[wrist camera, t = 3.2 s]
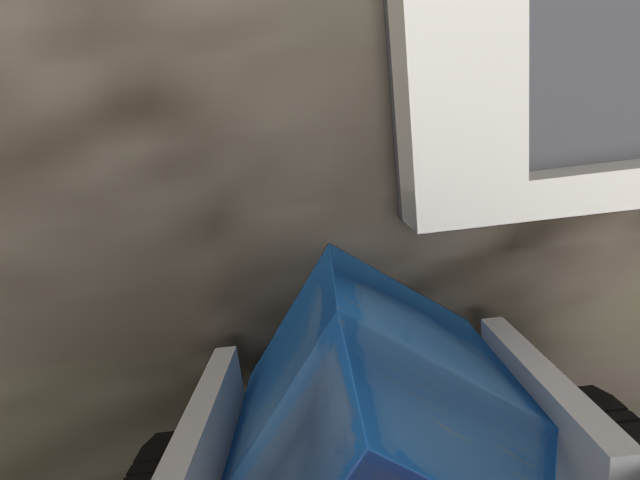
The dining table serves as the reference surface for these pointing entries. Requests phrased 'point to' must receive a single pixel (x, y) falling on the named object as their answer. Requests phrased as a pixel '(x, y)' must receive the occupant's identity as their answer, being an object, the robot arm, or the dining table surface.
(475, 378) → the perfume bottle
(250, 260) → the dining table surface
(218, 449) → the robot arm
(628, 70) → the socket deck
